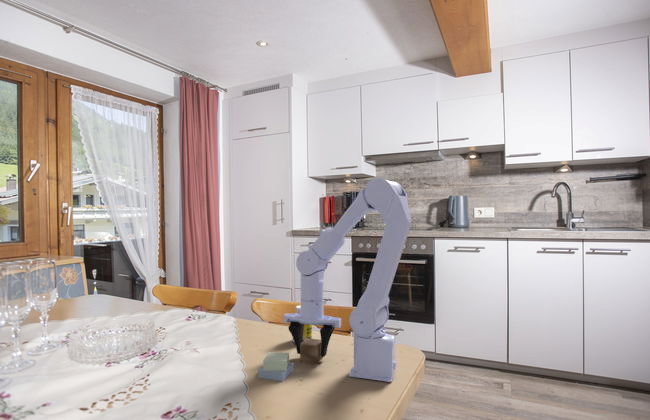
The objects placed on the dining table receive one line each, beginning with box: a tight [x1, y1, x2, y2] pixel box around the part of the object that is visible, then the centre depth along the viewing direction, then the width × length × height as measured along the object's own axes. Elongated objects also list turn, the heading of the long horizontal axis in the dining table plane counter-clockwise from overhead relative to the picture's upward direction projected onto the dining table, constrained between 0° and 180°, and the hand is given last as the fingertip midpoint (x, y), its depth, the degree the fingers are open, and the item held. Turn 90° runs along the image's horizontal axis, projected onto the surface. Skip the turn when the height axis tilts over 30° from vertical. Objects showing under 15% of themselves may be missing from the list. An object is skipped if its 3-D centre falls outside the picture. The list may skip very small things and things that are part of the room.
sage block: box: [262, 351, 290, 371], centre depth 84 cm, size 5×5×2 cm
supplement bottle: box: [292, 304, 313, 342], centre depth 105 cm, size 5×5×10 cm
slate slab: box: [257, 361, 295, 382], centre depth 84 cm, size 6×6×2 cm
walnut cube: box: [299, 338, 324, 365], centre depth 92 cm, size 4×4×4 cm
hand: (311, 353), depth 92 cm, fingers open, 6 cm apart
